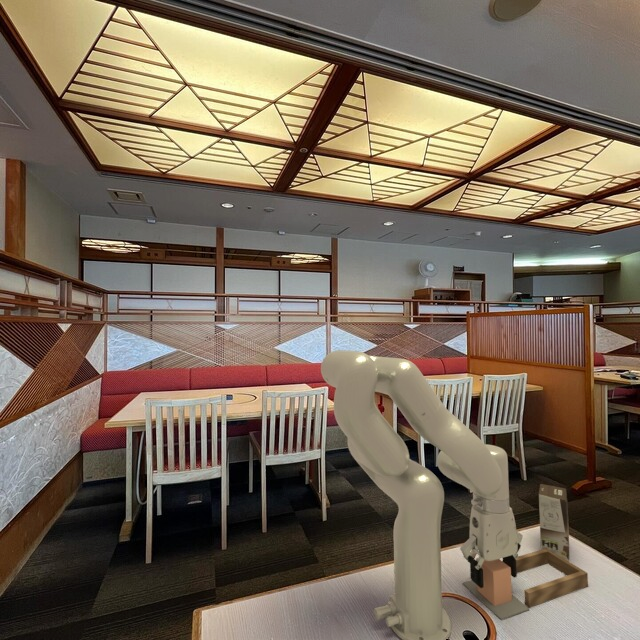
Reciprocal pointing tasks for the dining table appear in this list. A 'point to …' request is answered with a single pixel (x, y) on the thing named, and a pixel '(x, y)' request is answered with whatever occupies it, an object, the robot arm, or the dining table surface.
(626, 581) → the dining table surface
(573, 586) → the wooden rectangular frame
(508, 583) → the block
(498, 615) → the mat
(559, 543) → the coffee box
